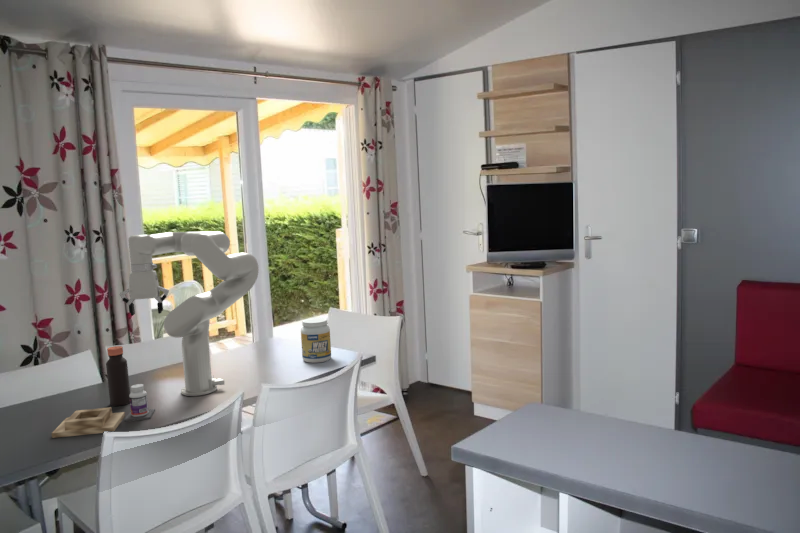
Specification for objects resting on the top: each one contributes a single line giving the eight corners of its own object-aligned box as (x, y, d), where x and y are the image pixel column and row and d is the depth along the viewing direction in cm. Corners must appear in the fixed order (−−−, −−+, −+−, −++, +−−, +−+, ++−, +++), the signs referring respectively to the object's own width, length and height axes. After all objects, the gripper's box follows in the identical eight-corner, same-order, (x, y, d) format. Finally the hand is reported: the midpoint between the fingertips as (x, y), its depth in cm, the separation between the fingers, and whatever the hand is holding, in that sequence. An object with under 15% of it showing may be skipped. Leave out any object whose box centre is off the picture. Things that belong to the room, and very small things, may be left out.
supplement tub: (309, 365, 271) (306, 324, 269) (298, 359, 281) (295, 320, 279) (336, 360, 277) (333, 320, 275) (324, 354, 287) (322, 315, 285)
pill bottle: (134, 412, 221) (131, 383, 220) (150, 410, 222) (148, 382, 220) (129, 417, 216) (126, 388, 215) (146, 416, 216) (143, 387, 215)
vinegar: (118, 407, 229) (112, 351, 226) (106, 404, 232) (100, 349, 230) (135, 401, 234) (129, 346, 232) (123, 399, 238) (117, 344, 235)
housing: (125, 416, 219) (123, 404, 219) (113, 431, 206) (112, 419, 205) (67, 421, 216) (65, 410, 216) (52, 437, 203) (50, 425, 202)
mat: (155, 410, 224) (155, 408, 223) (150, 418, 216) (150, 417, 216) (130, 413, 222) (130, 411, 222) (124, 421, 214) (124, 419, 214)
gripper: (168, 265, 249) (172, 310, 251) (120, 268, 247) (124, 313, 249) (164, 268, 242) (168, 314, 244) (114, 271, 239) (119, 317, 241)
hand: (146, 313), depth 246 cm, fingers open, 9 cm apart
